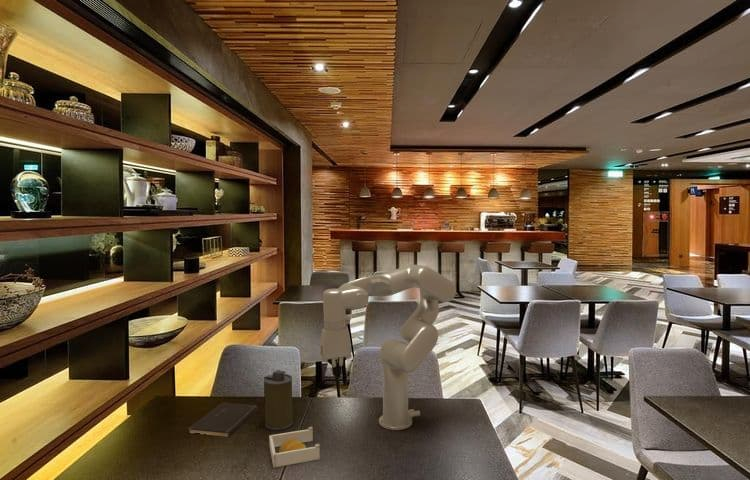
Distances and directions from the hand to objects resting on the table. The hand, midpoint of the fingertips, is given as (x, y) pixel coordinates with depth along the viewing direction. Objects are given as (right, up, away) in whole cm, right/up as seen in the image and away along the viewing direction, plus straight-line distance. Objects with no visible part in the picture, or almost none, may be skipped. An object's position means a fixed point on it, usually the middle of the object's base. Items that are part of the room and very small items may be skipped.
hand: (337, 376), depth 153 cm
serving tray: (-14, -23, -8) cm, 28 cm away
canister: (-23, -22, +13) cm, 35 cm away
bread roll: (-14, -23, -8) cm, 28 cm away
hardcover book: (-44, -23, +16) cm, 52 cm away
